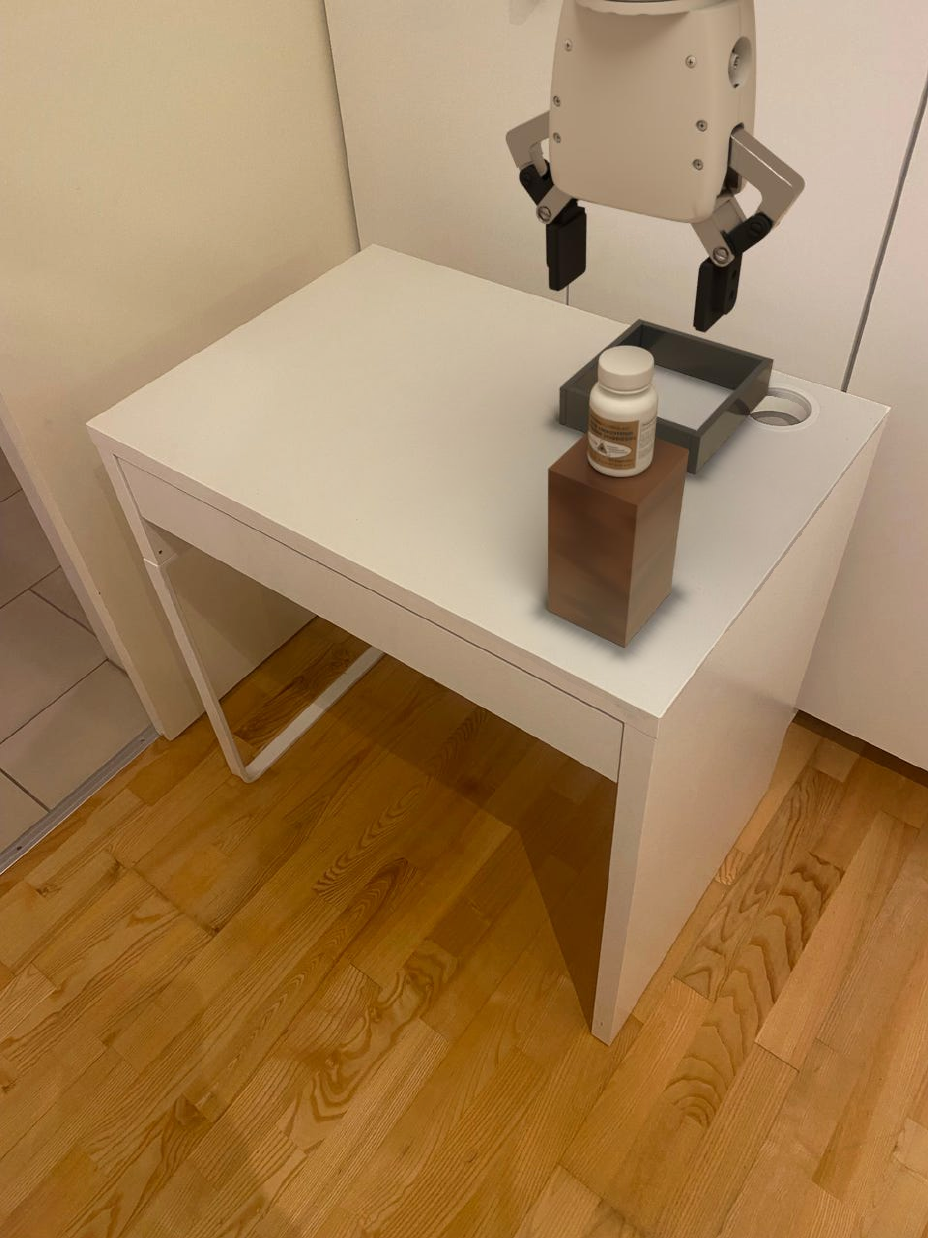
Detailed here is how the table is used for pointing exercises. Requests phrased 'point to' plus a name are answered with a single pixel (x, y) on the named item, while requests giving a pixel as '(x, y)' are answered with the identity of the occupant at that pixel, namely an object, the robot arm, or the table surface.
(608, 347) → the tray
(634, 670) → the table surface
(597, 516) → the display block
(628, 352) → the pill bottle
